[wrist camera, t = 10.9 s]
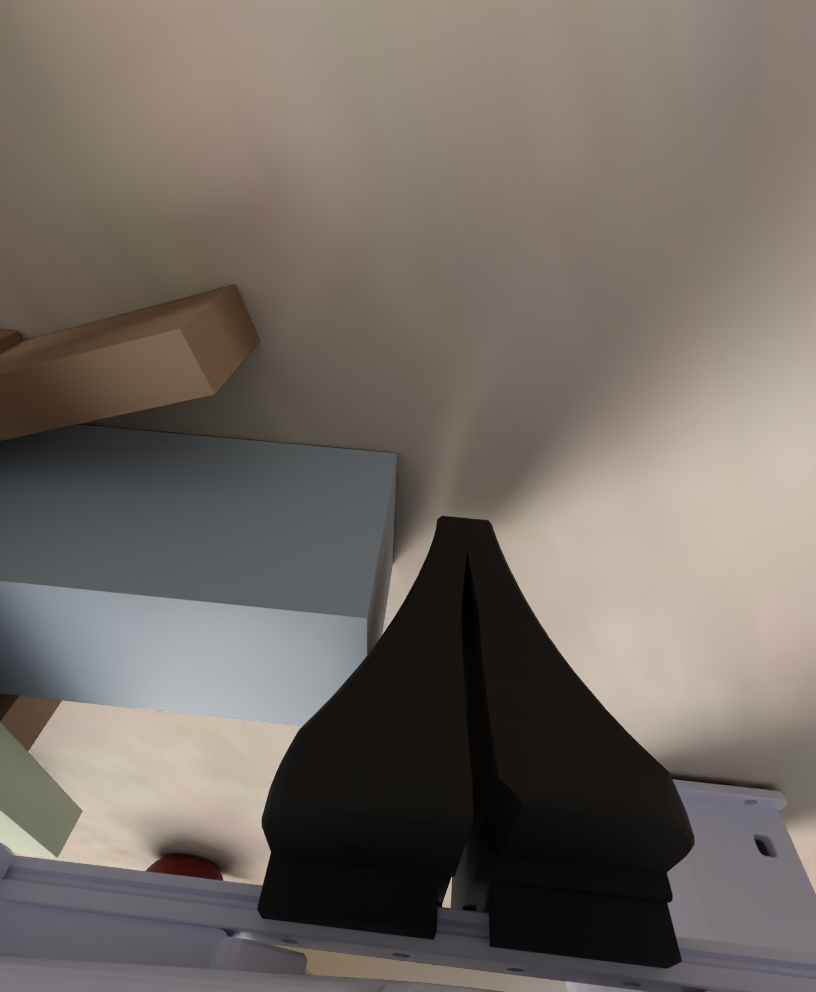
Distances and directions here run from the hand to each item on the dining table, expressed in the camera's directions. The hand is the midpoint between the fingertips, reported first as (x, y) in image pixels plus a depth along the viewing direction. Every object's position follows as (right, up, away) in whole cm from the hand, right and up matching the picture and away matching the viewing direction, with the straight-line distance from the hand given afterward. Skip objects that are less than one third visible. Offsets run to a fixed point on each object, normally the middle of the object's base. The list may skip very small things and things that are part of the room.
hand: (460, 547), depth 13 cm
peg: (-7, +1, +1) cm, 7 cm away
